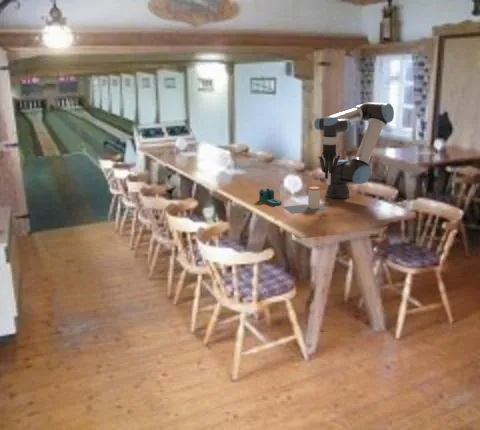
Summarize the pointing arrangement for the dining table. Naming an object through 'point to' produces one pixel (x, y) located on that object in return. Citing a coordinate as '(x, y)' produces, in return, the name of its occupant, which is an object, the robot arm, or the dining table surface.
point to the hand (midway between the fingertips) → (328, 184)
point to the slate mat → (302, 209)
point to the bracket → (268, 197)
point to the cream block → (314, 197)
